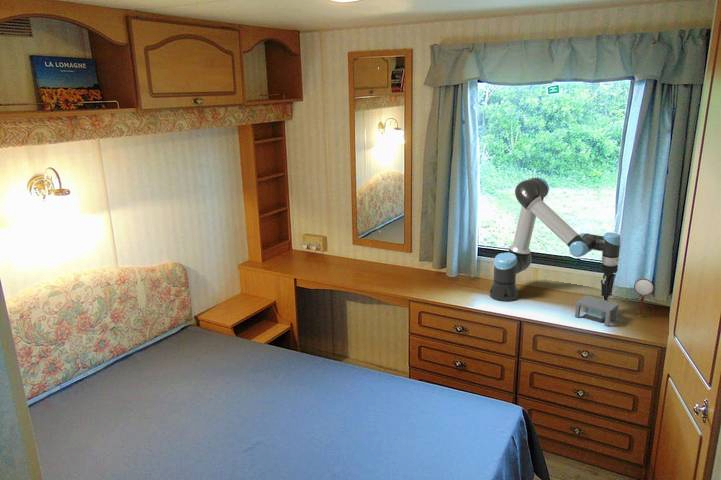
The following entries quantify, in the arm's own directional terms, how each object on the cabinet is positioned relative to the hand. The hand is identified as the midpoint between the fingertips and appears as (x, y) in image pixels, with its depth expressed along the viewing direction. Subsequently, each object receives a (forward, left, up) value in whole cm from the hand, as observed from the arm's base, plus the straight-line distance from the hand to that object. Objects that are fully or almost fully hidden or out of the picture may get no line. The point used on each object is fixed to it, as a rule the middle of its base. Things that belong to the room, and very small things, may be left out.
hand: (605, 307), depth 267 cm
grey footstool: (0, -11, -2) cm, 11 cm away
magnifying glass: (+15, +5, -2) cm, 16 cm away
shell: (0, -8, -2) cm, 8 cm away
